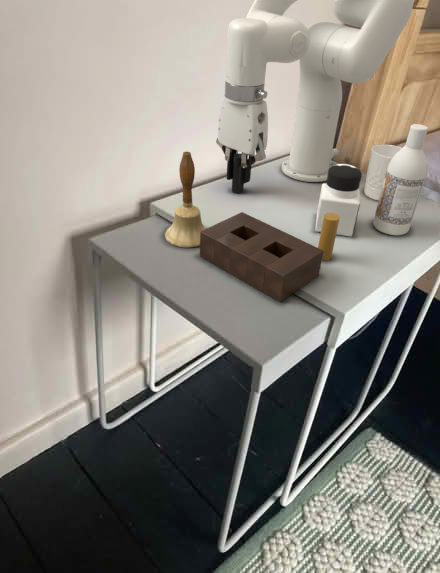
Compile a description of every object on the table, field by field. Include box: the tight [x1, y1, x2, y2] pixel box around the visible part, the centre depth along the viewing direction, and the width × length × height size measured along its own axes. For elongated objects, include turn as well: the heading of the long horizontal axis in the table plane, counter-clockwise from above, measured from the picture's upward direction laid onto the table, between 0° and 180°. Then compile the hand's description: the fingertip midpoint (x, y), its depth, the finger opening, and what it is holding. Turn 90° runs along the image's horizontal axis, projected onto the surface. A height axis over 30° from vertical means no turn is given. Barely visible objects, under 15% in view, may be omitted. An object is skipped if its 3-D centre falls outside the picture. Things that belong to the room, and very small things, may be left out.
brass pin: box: [317, 213, 340, 262], centre depth 86 cm, size 3×3×8 cm
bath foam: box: [372, 123, 429, 236], centre depth 92 cm, size 7×7×20 cm
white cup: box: [363, 144, 403, 201], centre depth 107 cm, size 8×8×10 cm
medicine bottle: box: [314, 163, 363, 237], centre depth 94 cm, size 7×7×12 cm
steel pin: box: [230, 152, 245, 194], centre depth 105 cm, size 3×3×8 cm
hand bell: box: [164, 151, 207, 249], centre depth 87 cm, size 8×8×16 cm
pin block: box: [199, 211, 324, 303], centre depth 83 cm, size 18×11×5 cm, turn 47°
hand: (238, 179), depth 106 cm, fingers closed on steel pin, 2 cm apart
